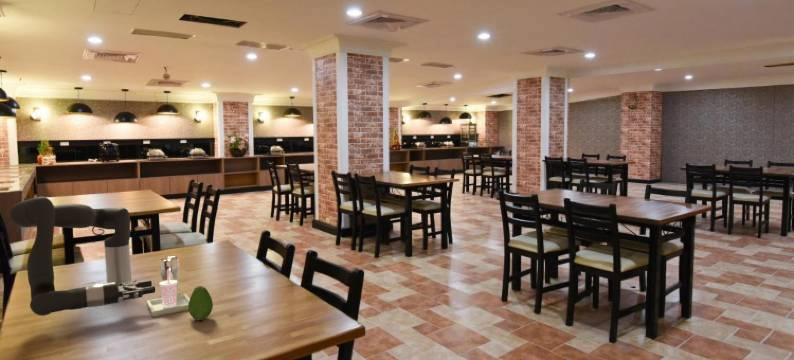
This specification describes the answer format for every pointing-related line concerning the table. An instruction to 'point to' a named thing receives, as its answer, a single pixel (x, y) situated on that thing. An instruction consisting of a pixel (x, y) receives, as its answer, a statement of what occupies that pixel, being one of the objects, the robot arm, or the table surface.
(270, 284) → the table surface
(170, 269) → the metal tumbler
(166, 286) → the beverage cup
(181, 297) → the tray
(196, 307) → the avocado
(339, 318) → the table surface
